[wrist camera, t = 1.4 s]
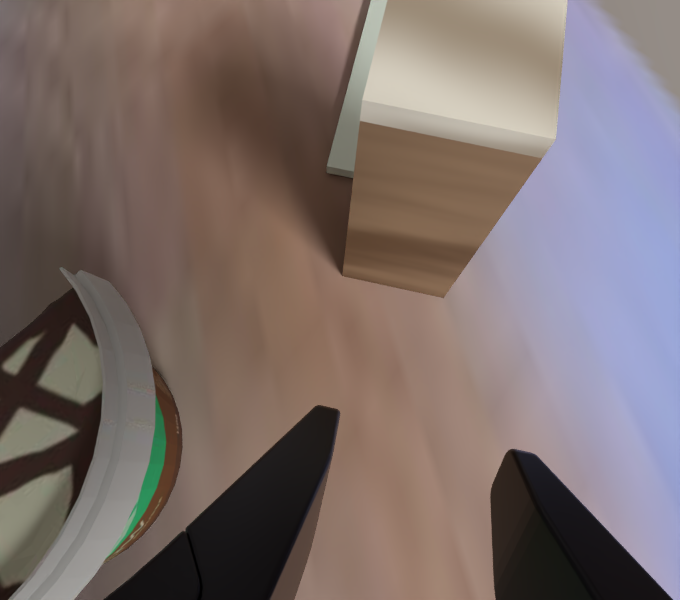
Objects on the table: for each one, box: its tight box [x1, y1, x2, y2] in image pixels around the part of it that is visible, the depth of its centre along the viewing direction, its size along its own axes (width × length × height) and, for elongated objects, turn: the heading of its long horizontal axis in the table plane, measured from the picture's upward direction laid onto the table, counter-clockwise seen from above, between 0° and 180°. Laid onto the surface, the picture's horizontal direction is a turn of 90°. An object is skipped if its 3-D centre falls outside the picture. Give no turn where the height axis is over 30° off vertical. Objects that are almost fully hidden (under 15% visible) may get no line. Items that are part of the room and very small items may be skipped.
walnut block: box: [342, 0, 568, 298], centre depth 19 cm, size 5×5×12 cm
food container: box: [0, 267, 182, 600], centre depth 16 cm, size 12×6×10 cm, turn 136°
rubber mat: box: [327, 0, 387, 178], centre depth 28 cm, size 14×9×1 cm, turn 167°
